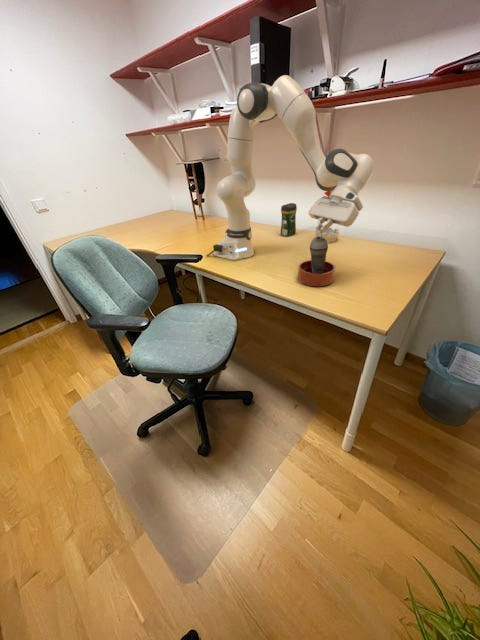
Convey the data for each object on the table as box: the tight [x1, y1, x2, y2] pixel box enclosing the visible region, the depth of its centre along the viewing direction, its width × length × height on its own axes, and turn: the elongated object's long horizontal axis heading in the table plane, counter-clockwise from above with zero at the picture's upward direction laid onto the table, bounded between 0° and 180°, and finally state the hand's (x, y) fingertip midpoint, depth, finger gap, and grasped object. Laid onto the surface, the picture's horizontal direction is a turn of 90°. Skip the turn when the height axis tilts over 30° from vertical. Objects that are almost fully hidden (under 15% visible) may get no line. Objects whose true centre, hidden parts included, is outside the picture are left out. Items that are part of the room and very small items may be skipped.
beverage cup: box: [309, 231, 329, 274], centre depth 105 cm, size 7×7×20 cm
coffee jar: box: [280, 202, 298, 237], centre depth 160 cm, size 10×8×19 cm
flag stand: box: [315, 190, 340, 244], centre depth 144 cm, size 13×13×30 cm
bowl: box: [297, 259, 336, 287], centre depth 109 cm, size 15×15×6 cm
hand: (319, 230), depth 99 cm, fingers closed on beverage cup
